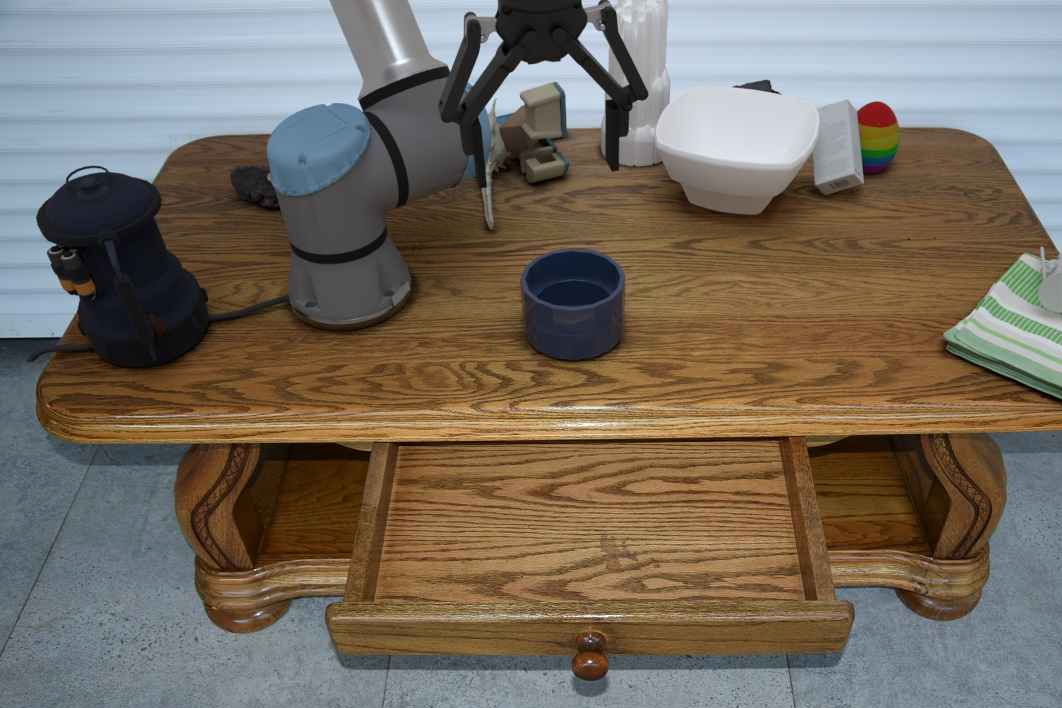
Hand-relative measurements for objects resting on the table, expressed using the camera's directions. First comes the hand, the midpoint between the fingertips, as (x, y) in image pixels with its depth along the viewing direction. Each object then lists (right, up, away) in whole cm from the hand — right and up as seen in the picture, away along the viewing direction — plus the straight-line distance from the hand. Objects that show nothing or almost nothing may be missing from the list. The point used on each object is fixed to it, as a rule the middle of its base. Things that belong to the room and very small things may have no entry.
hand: (547, 173), depth 96 cm
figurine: (+60, -10, +15) cm, 63 cm away
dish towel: (+60, -15, +18) cm, 64 cm away
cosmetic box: (+40, +7, +38) cm, 56 cm away
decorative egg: (+46, +13, +48) cm, 67 cm away
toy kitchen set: (-8, +18, +44) cm, 48 cm away
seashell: (-12, +9, +44) cm, 46 cm away
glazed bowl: (+2, -15, +19) cm, 24 cm away
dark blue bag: (-53, -2, +16) cm, 55 cm away
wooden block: (-7, +15, +41) cm, 44 cm away
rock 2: (+30, +28, +58) cm, 71 cm away
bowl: (+24, +6, +41) cm, 48 cm away
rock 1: (-41, +6, +41) cm, 59 cm away
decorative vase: (+11, +16, +52) cm, 55 cm away
